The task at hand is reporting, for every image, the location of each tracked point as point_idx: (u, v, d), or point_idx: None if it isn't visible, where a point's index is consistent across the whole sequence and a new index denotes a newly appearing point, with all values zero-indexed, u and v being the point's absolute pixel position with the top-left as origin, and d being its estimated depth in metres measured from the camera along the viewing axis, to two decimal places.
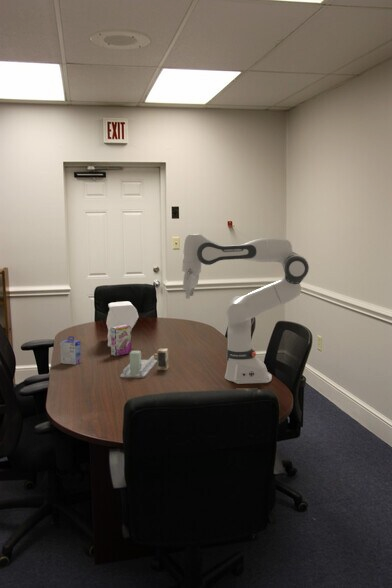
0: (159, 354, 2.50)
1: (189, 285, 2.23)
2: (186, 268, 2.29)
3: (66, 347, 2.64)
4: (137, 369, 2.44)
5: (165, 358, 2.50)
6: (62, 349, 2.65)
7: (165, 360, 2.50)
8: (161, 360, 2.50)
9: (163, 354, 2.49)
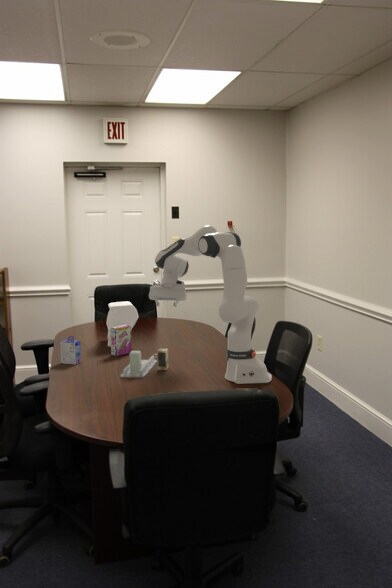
0: (159, 354, 2.50)
1: (149, 293, 2.66)
2: None
3: (66, 347, 2.64)
4: (137, 369, 2.44)
5: (165, 358, 2.50)
6: (62, 349, 2.65)
7: (165, 360, 2.50)
8: (161, 360, 2.50)
9: (163, 354, 2.49)
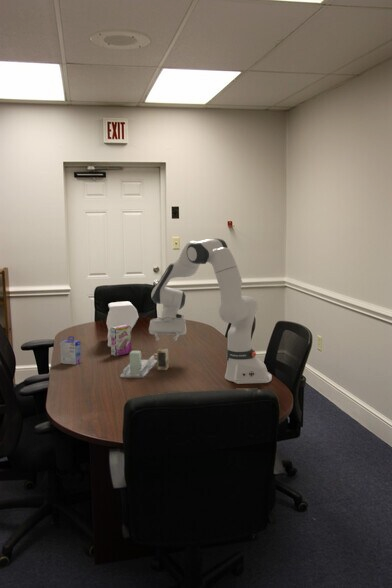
0: (159, 354, 2.50)
1: (149, 328, 2.65)
2: None
3: (66, 347, 2.64)
4: (137, 369, 2.44)
5: (165, 358, 2.50)
6: (63, 349, 2.65)
7: (165, 360, 2.50)
8: (161, 360, 2.50)
9: (163, 354, 2.49)
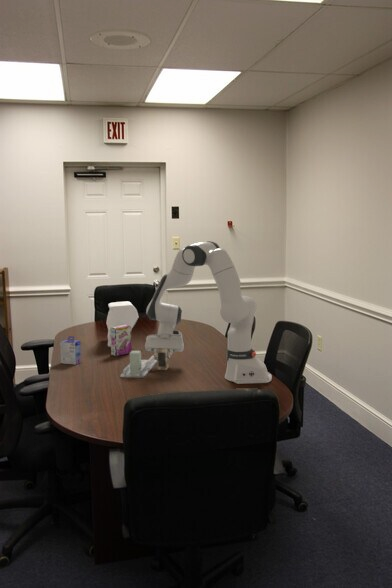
0: (159, 354, 2.50)
1: (145, 344, 2.57)
2: None
3: (66, 347, 2.64)
4: (137, 369, 2.44)
5: (165, 358, 2.50)
6: (62, 349, 2.65)
7: (165, 360, 2.50)
8: (161, 360, 2.50)
9: (163, 354, 2.49)
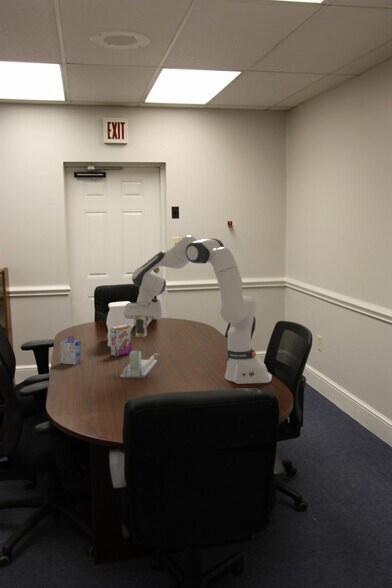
0: (137, 321, 2.53)
1: (124, 312, 2.60)
2: None
3: (66, 347, 2.64)
4: (137, 369, 2.44)
5: (143, 325, 2.54)
6: (62, 349, 2.65)
7: (143, 327, 2.53)
8: (139, 327, 2.53)
9: (141, 321, 2.53)
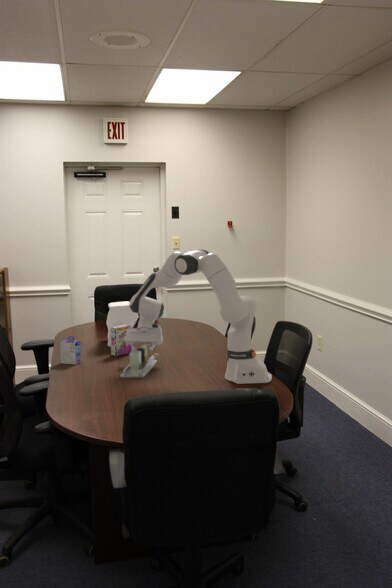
0: (138, 350, 2.55)
1: (125, 338, 2.62)
2: None
3: (66, 347, 2.64)
4: (137, 369, 2.44)
5: (144, 353, 2.56)
6: (62, 349, 2.65)
7: (144, 356, 2.56)
8: None
9: (142, 350, 2.55)
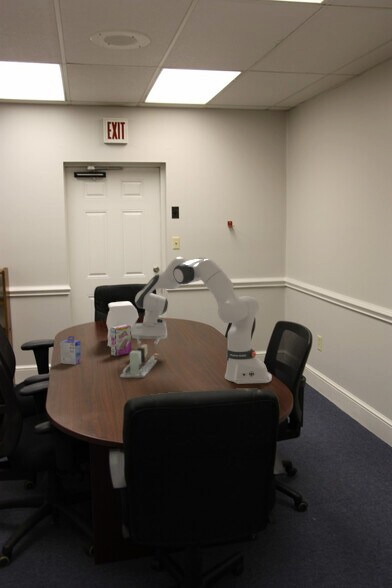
0: (138, 350, 2.55)
1: (131, 332, 2.74)
2: None
3: (66, 347, 2.64)
4: (137, 369, 2.44)
5: (144, 353, 2.56)
6: (62, 349, 2.65)
7: (144, 356, 2.56)
8: None
9: (142, 350, 2.55)
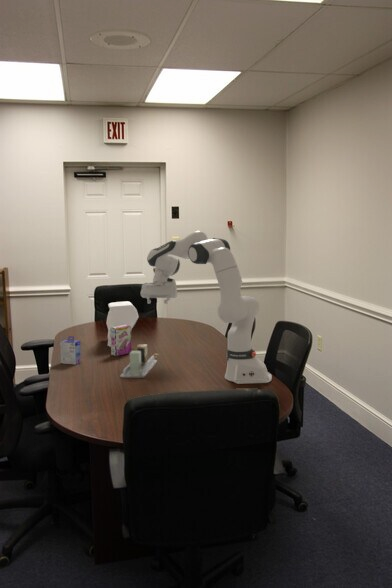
0: (138, 350, 2.55)
1: None
2: None
3: (66, 347, 2.64)
4: (137, 369, 2.44)
5: (144, 353, 2.56)
6: (62, 349, 2.65)
7: (144, 356, 2.56)
8: None
9: (142, 350, 2.55)
